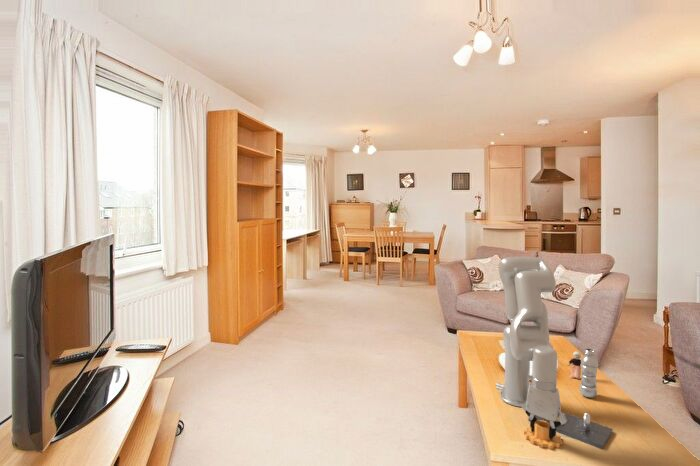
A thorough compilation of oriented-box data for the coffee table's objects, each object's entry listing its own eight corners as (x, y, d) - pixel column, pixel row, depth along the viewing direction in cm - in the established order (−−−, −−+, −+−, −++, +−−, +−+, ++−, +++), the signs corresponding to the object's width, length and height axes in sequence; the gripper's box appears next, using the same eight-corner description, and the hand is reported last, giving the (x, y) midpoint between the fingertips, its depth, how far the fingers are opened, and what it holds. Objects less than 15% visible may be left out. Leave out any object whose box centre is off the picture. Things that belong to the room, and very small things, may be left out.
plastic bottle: (577, 396, 164) (578, 350, 163) (581, 390, 169) (583, 346, 168) (594, 401, 160) (596, 354, 159) (599, 395, 165) (600, 350, 163)
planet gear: (518, 438, 135) (519, 424, 134) (532, 425, 143) (532, 411, 142) (554, 453, 126) (555, 438, 126) (566, 438, 134) (567, 424, 134)
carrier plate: (528, 420, 146) (528, 402, 145) (542, 407, 155) (542, 390, 155) (602, 449, 128) (602, 428, 128) (612, 432, 138) (613, 412, 137)
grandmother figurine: (568, 378, 181) (569, 352, 180) (566, 375, 185) (567, 349, 184) (587, 380, 179) (588, 353, 179) (584, 377, 183) (585, 350, 182)
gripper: (514, 378, 137) (513, 428, 138) (567, 395, 124) (566, 449, 125) (523, 372, 142) (522, 420, 143) (575, 387, 129) (573, 439, 131)
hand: (542, 433), depth 134 cm, fingers closed on planet gear, 5 cm apart
